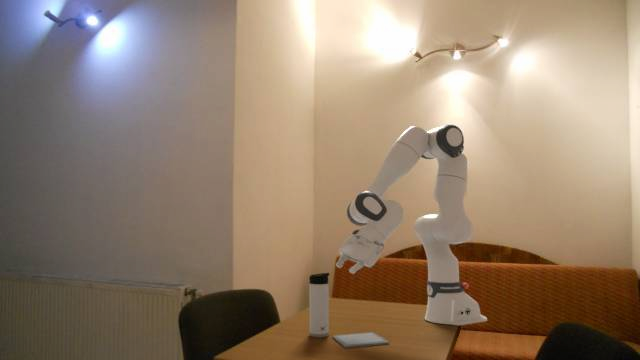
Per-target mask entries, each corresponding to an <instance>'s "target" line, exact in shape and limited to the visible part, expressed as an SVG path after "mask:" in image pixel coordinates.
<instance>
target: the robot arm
mask: <svg viewBox="0 0 640 360" xmlns="http://www.w3.org/2000/svg"><path fill="white" fill-rule="evenodd" d="M463 134H464V133H463V132H462V130H461V128H460V127H458V126H457V125H455V124H445V125H442V126H438V127H435V128H432V129H431V130H428V131H426V130H425V129H424V128H422V127H420V126H416V125H415V126H414V125H413V126H410V127H408V128H407V129H406V130H405V131H404V132H402V134H401V135H400V136H399V137H397V139H396V140H395V141H394V143H393V144H392V145H391V147H390V149H389V150H388V152H387V154H386V156H385V158H384V159H383V162H382V165H381V167H379V168H380V169H379V171H378V173H377V175H376V176H375V178H374V180H373V181H372V182H371V184H370V185H369V187H368V188H367V189H366V190H365V191H362V192H360V193H358V195H357V196H356V197H355V198H354V199H353V201H351V202H350V203H349V204H348V206H347V209H346V216H347V218H348V220H349V222H351V224H353V225H355V226H358V227H362V228H359V229H354V230H352V232H350V236H349V237H348V238H346V239H345V241H344V242H343V243H342V245H341V246H340V247H339V249H338V253H339V254H340V256H339V258H338V261H337V262H336V263H335V266H336V267H337V268H338V269H342V267H343V266H344V263H345V262H347V260H348V261H352V262H354V263H356V264H354V265H353V266H351V265H350V267H349V269H348V271H349V273H350V274H352V275H354V274H355V273H356V272H358V271H359V270H361V269H362V268H363V267H366V268H369V269H370V268H372V267H373V266H374V265H375V264H376V263H377V262H378V260H379V259H380V257H382V256H381V255H383V250H384V249H385V243H386V242H387V240H388V238H389V237H390V236H392V235H393V234H394V233H395V231H396V230H397V229H398V228H399V227H400V225H401V224H402V223H403V221H404V219H405V211H404V209H403V207H402V206H401V204H400V203H398V202H396V201H395V200H390V199H385V198H383V196H384V195H385V194H386V192H387V191H388V190H389V189H390V188H391V187H392V186H393V185H394V184H395V183H396V182H398V181H399V180H400V179H402V178H403V177H404V176H406V174H408V173H409V172H410V171H411V170H412V169H413V168H414V167H416V164H418V162H419V160H420V159H421V158H423V159H425V160H432V159H436V160H437V163H438V168H437V173H436V176H435V177H436V178H435V182H434V188H433V194H432V195H433V196H432V197H433V199H434V200H435V201H436V203H437V205H438V213H429V214H425V215H422V216H420V217H418V218H417V219H416V220H415V222H414V227H413V228H414V229H413V230H414V234H415V235H416V237H417V238H418V239H419V240H420V242H421V243H422V246H423V249H424V252H425V255H426V261H427V277H428V278H427V281H426V284H427V285H426V293H427V304H426V305H427V306H426V312H425V316H424V320H425V321H427V322H430V323H434V324H441V325H442V324H443V325H452V326H466V325H472V324H477V323H485V322H487V321H488V318H487V316H485V315H483V314H481V309H480V305H479V303H478V302H477V301H476V300H475V299H473V298H472V297H471V296H470V295H469V294H467V293H466V292H465V290H466V289H469V288H470V284H469V283H468V282H462V281H460V271H459V270H460V269H459V268H460V267H459V260H458V258H457V257H456V256H455V255H454V254H453V252H452V250H451V248H450V245H458V244H463V243H467V242H468V241H470V239H471V238H472V236H473V232H474V226H473V223H472V221H471V220H470V218H469V217H468V215H467V213H466V211H465V205H464V199H465V198H464V197H465V190H466V183H467V175H468V158H467V156H466V155H465V154H464V153H463V151H464V149H465V147H464V143H465V139H464V138H465V137H464V135H463ZM464 289H465V290H464Z"/></svg>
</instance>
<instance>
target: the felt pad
mask: <svg viewBox="0 0 640 360" xmlns="http://www.w3.org/2000/svg"><path fill="white" fill-rule="evenodd" d="M331 336H332V337H331V338H332V339H333V340H334V341H336V342H337V343H338V344H339V345H341V346H342V347H343V348H344V349H350V348H351V349H352V348H359V347H370V346H372V345H373V346H381V345H389V344H390V341H388V340H386V339H385V338H384V337H382V336H380V335H379V334H377V333H375V332H373V331H370V332H359V333H348V334H336V335H331Z"/></svg>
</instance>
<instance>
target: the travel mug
mask: <svg viewBox="0 0 640 360" xmlns="http://www.w3.org/2000/svg"><path fill="white" fill-rule="evenodd" d="M329 276H330V272H326V273H323V272H322V273H315V274H311V275H309V278H308V279H309V282H308V283H309V289H308V290H309V291H308V292H309V296H308V297H309V300H308V302H309V303H308V305H309V307H308V308H309V309H308V311H309V315H308V316H309V317H308V318H309V323H308V324H309V326H308V327H309V329H308V330H309V336H310V337H312V338H318V339H319V338H322V339H323V338H327V337H328V336H329V335H330V331H329V329H330V327H329V325H330V323H329V319H330V318H329V317H330V316H329V315H330V312H329V311H330V310H329V309H330V308H329V307H330V306H329V304H330V302H329V289H330V288H329Z"/></svg>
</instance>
